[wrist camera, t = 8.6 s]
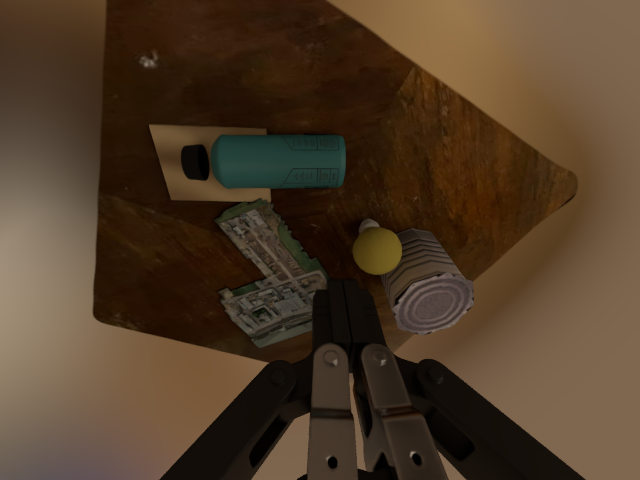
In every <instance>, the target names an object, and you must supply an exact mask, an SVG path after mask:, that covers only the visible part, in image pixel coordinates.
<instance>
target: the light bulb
mask: <svg viewBox="0 0 640 480" xmlns="http://www.w3.org/2000/svg"><path fill="white" fill-rule="evenodd" d="M359 234H360V235H359V236H358V238H357V240H356V241H355V243H354V246H353V256H354V260H355V261H356V263H357V264H358V266H359V267H360V268H361V269H362V270H364V271H365V272H367V273H370V274H374V275H381V274H386V273H388V272H390V271H391V270H393V269H394V268H395V267H396V266H397V265H398V263H399V261H400V259H401V256H402V246H401V242H400V240H399V239H398V237H397V235H396V234H394V233H393V232H392V231H390V230H387V229H384V228H381V227H379V225H378V223H377V222H375V221H373V220H371V219H365V220H363V221H362V223H361V225H360V227H359Z"/></svg>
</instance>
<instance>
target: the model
mask: <svg viewBox="0 0 640 480" xmlns="http://www.w3.org/2000/svg"><path fill="white" fill-rule="evenodd" d="M273 204H274V203H270V202H268V201H267V199H265V200H262V198H259V199H257V200H255V201H253V202H251V203H247V202H246V201H244V202H242V203H240V204H238V205H236V206H234V207H232V208H230V209H228V210H226V211H224V212H223V214H222V215H221V217H219V218H217V219H215V220H214V221H215V222H216V223H217V224H218V225H219V226H220V228H221V229H222V230H223V231H224V232H225V233H226V235H227V236H228V237H229V238H230V239H231V240H232V242H233V243H234V244H235V245H236V246H237V247H238V249H239V250H240V251H241V252H242V253H243V254H244V256H245V257H246V258H247V259H248V258H251V259H252V261H253V262H254V263H255V264H256V265H257V267H258V268H259V269H260V270H261V271H262V272H263V274H264V275H265V276H266V277H267V278H266V279H264V280H262V281H256V282H254V283H251V284H249V285H246V286H244V287H241V288H239V289H234V290H233V291H230V290H229V289H228V288H226V289H224V290H221V291H219V292H218V293H220V294H222V295H221V296H222V297H223V298H220V302H221V303H222V304H223V305H224V306H225V310H224V311H226V312H227V313H228V314H229V315H230V318H231V320H232V321H233V322H234V323H236V324H237V325H238V326H239V327H240V328H241V329H242V330H243V331H244V332H246V333H247V334H248V335H249V336H250V337H251V341H252V342H253V343H254V344H255V345H257V346H258V347H259V348H261V347H264V346H267V345H270V344H273V343H276V342H279V341H282V340H285V339H287V338H290V337H293V336H296V335H299V334H302V333H305V332H308V331H311V330H312V304H313V296H314V294H315V292H316V290H317V289H326V281H327V279H330V278H329V276H328V275H327V273H326V271H325V270H324V268H323V267H322V265H321V263H320V262H319V260H318V259H317V258H313V259H310V258H309V256H308V255H307V253H306V252H304V251H303V252H302V251H301V250H302V249H303V247H302V246H301V244H300V243H299V241H297V240H296V239H295V240H294V239H293V238H292V236H291V232H292V231H289V230H287V229H288V226H287V225H284V222H285V221H284V220H281V219H280V218H281V215H279V214H275V213H274V211H273V210H272V207H273ZM227 316H228V315H227Z"/></svg>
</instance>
